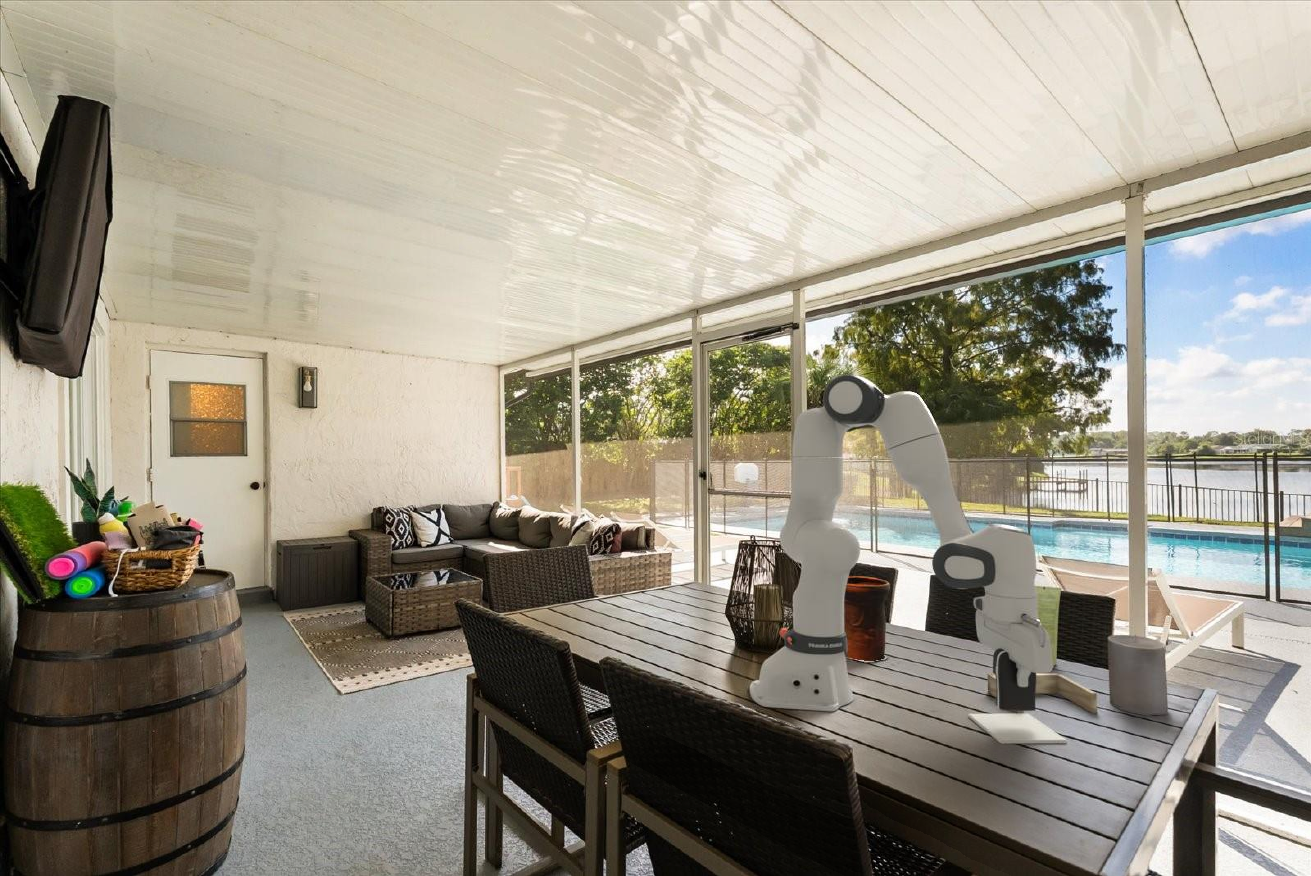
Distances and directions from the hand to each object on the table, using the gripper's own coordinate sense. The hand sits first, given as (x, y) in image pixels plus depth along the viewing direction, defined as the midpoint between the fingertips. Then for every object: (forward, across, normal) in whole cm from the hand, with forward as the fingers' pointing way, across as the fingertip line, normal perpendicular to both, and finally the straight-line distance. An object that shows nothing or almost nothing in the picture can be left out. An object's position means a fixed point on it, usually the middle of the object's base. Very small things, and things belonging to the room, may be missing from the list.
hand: (1013, 680), depth 120 cm
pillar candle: (+10, +10, -32) cm, 35 cm away
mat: (+9, 0, 0) cm, 9 cm away
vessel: (+10, +47, +14) cm, 50 cm away
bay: (+9, +13, -13) cm, 21 cm away
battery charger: (+6, 0, 0) cm, 6 cm away
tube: (+10, +39, -30) cm, 50 cm away
